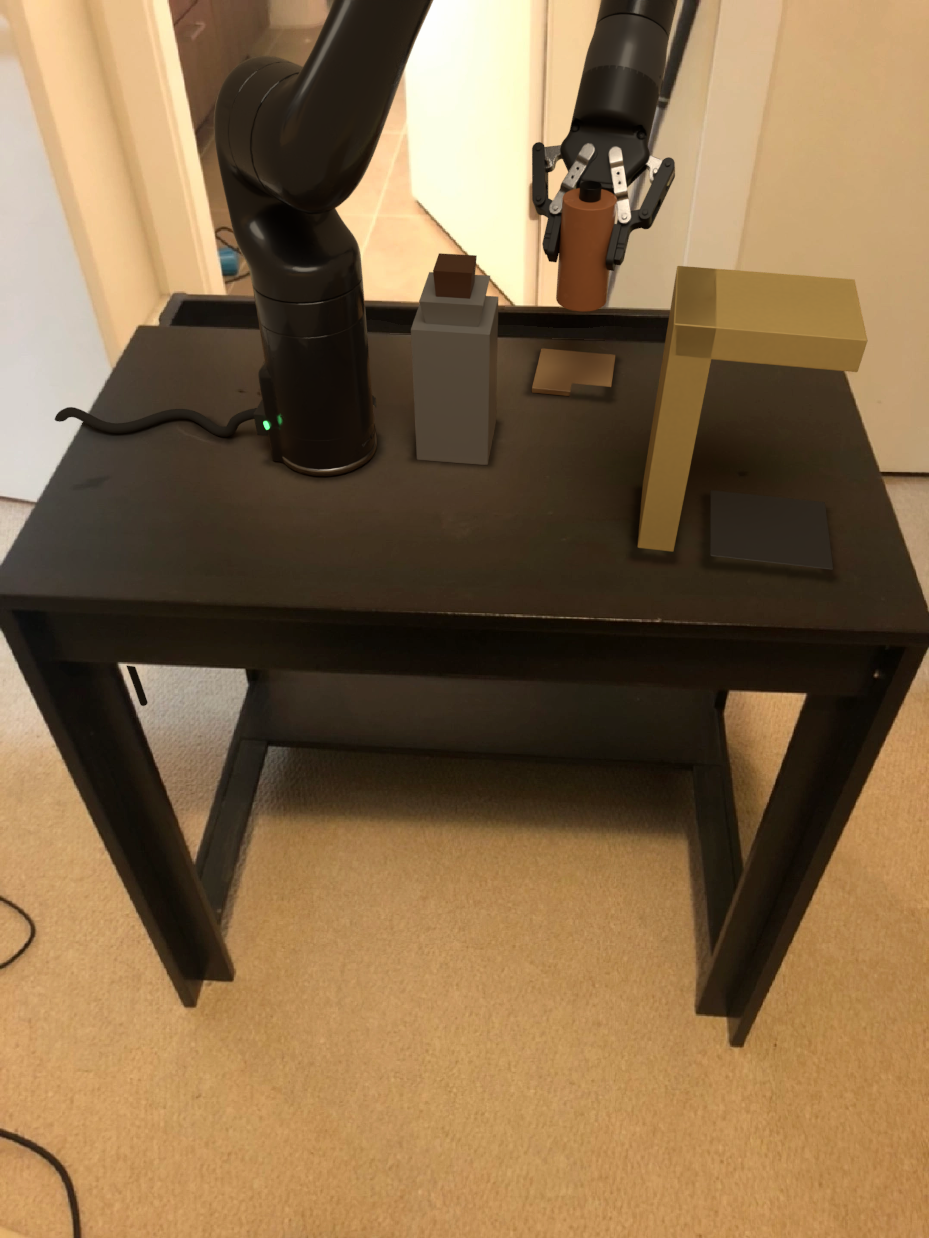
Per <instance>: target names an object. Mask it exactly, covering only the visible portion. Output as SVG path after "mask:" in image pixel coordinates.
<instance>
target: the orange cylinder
mask: <svg viewBox="0 0 929 1238" xmlns="http://www.w3.org/2000/svg"><path fill="white" fill-rule="evenodd" d="M616 206H617V198H616V196H615V195H614V194H613V193H611V192H609V191H607V190H603V189H602V184H601V183H599V182H596V181H584V182H582V183H581V184H580V188H577V189H573V190H570V191H568V192H566V193H565V194H564V196H563V199H562V214H561V230H560V245H559V255H558V260H557V262H558V263H557V280H556V293H555V295H556V296H555V301H556V303H557V304H558V305H559V306H561V307H562V308H564V309H567V310H569V311H572V312H583V313H584V312H586V313H587V312H593V311H597V310H599V309H601V308H603V307H604V306H605V305H606V304H607V300H608V291H609V283H610V274H611V273H610V272H611V271H610V270H607V269H606V257H607V253H608V248H609V244H610V239H611V235H612V230H613V226H614V224H616V214H617V208H616Z"/></svg>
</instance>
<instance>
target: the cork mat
mask: <svg viewBox="0 0 929 1238" xmlns="http://www.w3.org/2000/svg"><path fill="white" fill-rule="evenodd" d="M615 362H616V354H610V353H598V352H587V351H577V350H576V351H575V350H565V349H553V348H541V349H540V352H539V357H538V362H537V364H536V368H535V369H536V370H535V374H534V376H533V377H534V378H533V381H532V386H531V393H532V394H543V395H554V396H562V397H563V396H565V397H571V391H572V386H573V384H576V385H587V386H597V387H607V388H612V384H613V377H614V372H615V371H614V370H615Z"/></svg>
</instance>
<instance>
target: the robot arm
mask: <svg viewBox="0 0 929 1238" xmlns="http://www.w3.org/2000/svg"><path fill="white" fill-rule="evenodd" d="M678 1H679V0H600V4H599V8H598V13H597V18H596V22H595V27H594V31H593V34H592V37H591V40H590V42H589V45H588V48H587V50H586V55H585V59H584V63H583V69H582V72H581V78H580V81H579V85H578V92H577V95H576V99H575V103H574V108H573V114H572V118H571V122H570V127H569V131H568V133H567V135H566V137H564V139H563V140H562V141H561V144H558V145H550V146H545V144H544V142H540V141H538V142H537V141H536V142H535V143H533V145H532V147H531V179H532V180H531V194H532V195H531V197H532V198H531V200H532V203H533V204H532V205H533V206H534V208H535V211H536V213H537V215H539V216H543V217H545V218H547V220H546V225H545V230H544V235H543V239H542V244H541V245H542V250H543V252H544V255H545V256H546V258H547V260H548V262H549V263H550V262H551V263H557V262H558V260H559V245H560V230H561V214H562V199H563V196H564V194H565V193H566V192H568V191H570V190H573V189H577V188H580V184H581V183H582V182H584V181H596V182H599V183H601V184H602V189H603V190H607V191H609V192H611V193H613V194H614V195H615V196H616V198H617V206H616V214H617V220H616V223H615V224H614V226H613V230H612V235H611V239H610V244H609V248H608V253H607V257H606V269H607V270H610V272H615V271H616V266H622V264H623V262H624V261H625V258H626V252H627V248H628V243H629V240H630V239H629V238H630V235H631V233H632V232H633V231H635V230H639V229H643V230H649V229H650V228H652V226H653V224H654V222H655V220H656V218H657V216H658V214H659V212H660V210H661V208H662V205H663V203H664V201H665V199H666V197H667V195H668V193H669V190H670V189H671V186H672V184H673V182H674V180H675V177H676V162H675V160H674V158H672V157H671V156H670V157H668V156H667V157H665V158H663V159H662V158H658V157H656V156H653V155H651V152H650V149H649V143H650V140H651V139H650V138H651V133H652V129H653V124H654V122H655V121H654V120H655V115H656V112H657V107H658V103H659V99H660V94H661V92H662V90H663V85H664V77H665V72H666V66H667V65H666V64H667V55H668V46H669V40H670V36H671V32H672V27H673V22H674V18H675V15H676V10H677V7H678V6H677V5H678ZM433 2H434V0H332V3H331V6H330V9H329V12H328V13H327V16H326V18H325V20H324V23H323V25H322V27H321V29H320V32H319V34H318V36H317V38H316V41H315V43H314V46H313V47H312V50H311V51H310V53H309V55H308V57H307V59H306V61H305V62H304V63H303V65H300V64H298V63H295V62H293V61H290V60H288V59H285V58H282V57H279V56H274V55H258V56H253V57H250V58H247V59H245V60H243V61H241V62H240V63H238V64H237V65H236V66H235V67H233V68H232V69H231V71H230V72H229V73H228V74H227V75H226V77H225V78H224V80H223V82H222V84H221V86H220V89H219V91H218V94H217V97H216V100H215V105H214V114H213V136H214V137H213V138H214V145H215V153H216V158H217V162H218V168H219V173H220V178H221V182H222V187H223V192H224V197H225V201H226V206H227V210H228V215H229V220H230V224H231V229H232V232H233V236H234V239H235V242H236V245H237V247H238V249H239V251H240V254H241V255H242V257H243V258H244V261H245V262H246V264H247V267H248V271H249V276H250V281H251V286H252V291H253V292H252V293H253V297H254V298H253V299H254V304H255V310H256V316H257V322H258V328H259V335H260V339H261V340H260V341H261V346H262V352H263V353H262V354H263V359H264V361H263V363H262V364H261V366H260V368H259V369H258V373H257V377H258V384H259V389H260V395H261V400H260V402H259V404H258V405H257V407H254V408H250V409H246V410H242V411H240V412H238V413H236V414H233V416H231V417H230V418H229V421H228V422H227V424H226V425H225V426H222V425H221V426H220V425H218V424H216V423H215V422H213V421H212V420H211V419H209V417H207V416H205V415H204V414H202V413H200V412H198V411H195V410H191V409H187V408H172V409H166V410H162V411H159V412H156V413H155V412H154V413H153V414H150V415H146V416H144V417H142V418H139V419H135V420H132V421H131V420H130V421H128V422H127V421H126V422H109V421H105V420H102V419H100V418H98V417H96V416H94V415H92V414H90V413H88V411H87V412H86V411H85V410H83V409H80V408H77V407H73V406H68V407H65V408H63V409H61V410H59V411H58V412H57V413H56V414H55V417H54V421H56V422H59V423H60V422H66V421H67V420H68V419H69V418H74V419H77V420H79V421H81V422H83V423H84V424H86V425H88V426H90V427H92V428H94V429H96V430H99V431H102V432H105V433H110V434H127V433H132V432H136V431H140V430H143V429H146V428H149V427H152V426H154V425H157V424H161V423H163V422H166V421H171V420H181V419H183V420H190V421H192V422H195V423H196V424H198V425H200V426H201V427H202V428H203V429H205V430H206V431H207V432H209V433H210V434H212V435H215V436H216V437H221V438H227V437H231V436H232V435H234V434H236V432H237V429H238V428H239V426H240V425H241V424H243V423H245V422H247V421H251V420H254V423H255V424H254V425H255V430H256V435H257V436H265V437H268V440H269V447H270V452H271V458H272V461H273V462H280V463H283V464H284V465H286V466H287V467H288V468H289V469H292V470H293V471H295V472H297V473H300V474H304V475H307V476H308V475H309V476H315V477H331V476H338V475H342V474H346V473H349V472H352V471H355V470H357V469H359V468H361V467H362V466H364V465H365V464H366V463H368V462H369V461H370V460H372V458H373V456H374V455H375V453H376V452H377V448H378V447H377V446H378V440H377V439H378V438H377V434H376V423H375V415H374V407H375V408H377V398H376V397H375V396H374V395H373V388H372V377H371V376H372V375H371V364H370V363H371V362H370V352H369V351H370V350H369V339H368V329H367V328H368V326H367V325H368V324H367V315H366V314H367V313H366V302H365V290H364V277H363V266H362V255H361V249H360V245H359V242H358V240H357V239H356V237H355V235H354V233H353V232H352V231H351V230H350V228H349V227H348V226H347V224H346V223H345V221H344V220H343V219H342V217H341V215H340V214H339V212H338V210H337V208H338V207H339V206H341V205H342V204H343V203H344V202H346V201H347V200H348V199H349V198H350V197H351V195H352V194H353V193H354V192H355V190H356V189H357V188H358V186H359V185H360V183H361V182H362V180H363V178H364V177H365V175H366V172H367V171H368V168H369V167H370V164H371V162H372V160H373V157H374V155H375V153H376V149H377V147H378V144H379V141H380V139H381V137H382V134H383V131H384V128H385V125H386V123H387V120H388V117H389V114H390V112H391V108H392V105H393V104H394V100H395V97H396V94H397V91H398V89H399V86H400V83H401V81H402V77H403V75H404V72H405V69H406V67H407V64H408V62H409V59H410V57H411V53H412V51H413V49H414V46H415V43H416V42H417V39H418V36H419V33H420V31H421V30H422V27H423V25H424V23H425V20H426V18H427V16H428V14H429V12H430V10H431V7H432V5H433ZM560 160H562V161H563V163H564V166H565V169H566V170H567V173H566V174H565V177H564V178H563V180H562V181H561V183H560V187H559V189H558V191H557V193H556V194H555V196H554V198H553V199H551V198H549V173H552V172H553V171H554V170H555V169H556V167H557V166H556V165H557V163H558V162H559V161H560ZM646 170H648V172H649V173H648V179H649V183H650V186H649V189H648V191H647V193H646V194H645V196H644V199H643V201H642V203H641V205H640V207H639V209H638V208H637V209H634V210H631V206H630V198H629V192H628V188H629V187H630V185H632V184H633V183H634V182H635V181H636V180H637V179H638V178H639V177H640V176H641V175H642V174H644V172H645V171H646ZM126 669H127V671H128V672H127V673H128V674H129V677H130V680H131V682H132V685H133V688H134V691H135V694H136V697H137V700H138V702H139V705H140V706H141V707H146V706H147V705H148V703H149V702H148V699H147V696H146V693H145V690H144V688H143V685H142V682H141V679H140V676H139V673H138V671H137V667H136V666H135V665H134V666H133V665H126Z"/></svg>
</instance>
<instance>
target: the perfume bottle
mask: <svg viewBox="0 0 929 1238" xmlns="http://www.w3.org/2000/svg"><path fill="white" fill-rule="evenodd" d="M476 270H477V255H476V254H475V255H474V254H456V253H443V252H440V253H439V252H438V255H437V257H436V261H435V264H434V267H433V270H432V271H428V275H427V277H426V280H425V283H424V286H423V289H422V292H421V295H420V296H419V300H418V308H417V310H416V313H415V315H414V319H413V322H412V325H411V327H410V341H411V344H410V345H411V362H412V364H411V365H412V382H413V383H412V385H413V405H414V406H413V407H414V424H415V425H414V427H415V442H416V443H415V448H416V449H415V450H416V460H417V461H431V462H441V463H442V462H444V463H453V464H454V463H457V464H467V465H468V464H470V465H481V466H488V465H489V460H490V455H491V451H492V445H493V441H494V435H495V430H496V426H497V386H498V385H497V384H498V381H497V380H498V379H497V378H498V339H499V338H498V336H499V330H498V329H499V296H494V295H487V292H488V289H489V285H490V284H489V283H490V280H491V275H486V274H476Z"/></svg>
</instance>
